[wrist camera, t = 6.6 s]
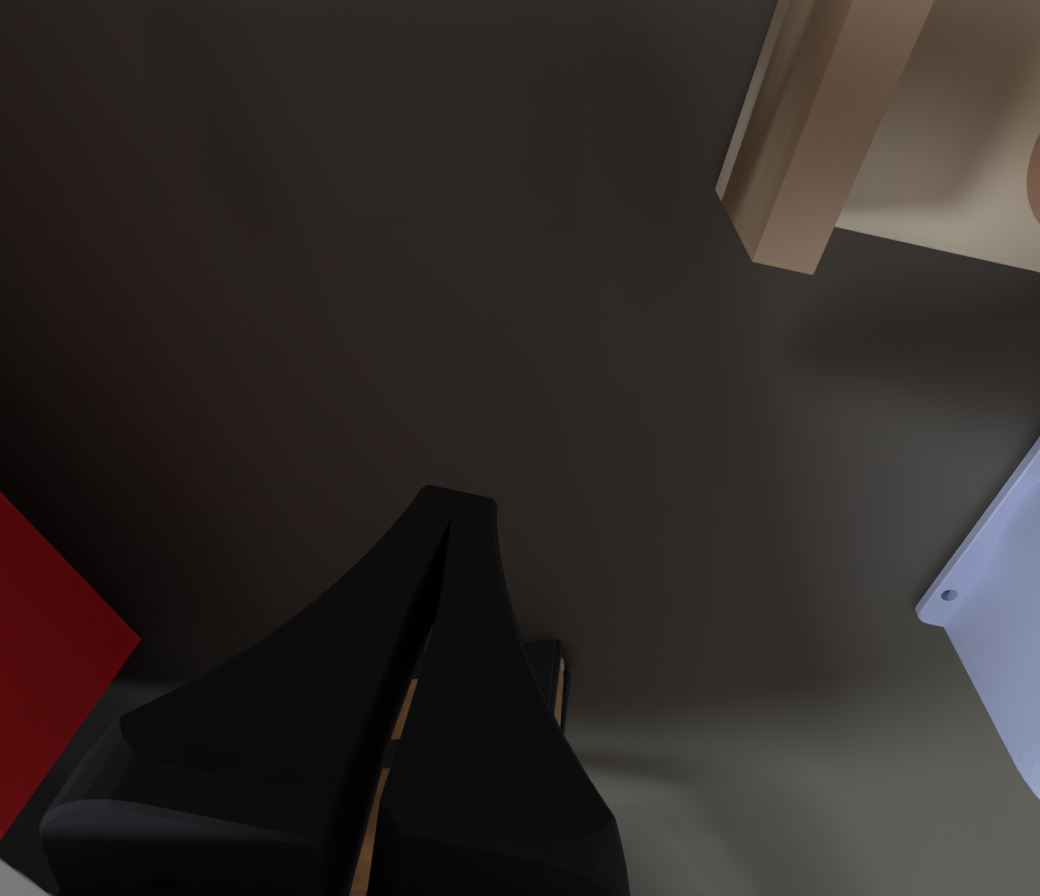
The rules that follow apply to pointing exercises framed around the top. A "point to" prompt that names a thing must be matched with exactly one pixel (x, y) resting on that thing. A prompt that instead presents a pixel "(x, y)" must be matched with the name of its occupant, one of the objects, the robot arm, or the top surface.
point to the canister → (1034, 180)
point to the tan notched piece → (889, 130)
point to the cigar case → (543, 659)
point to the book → (47, 656)
